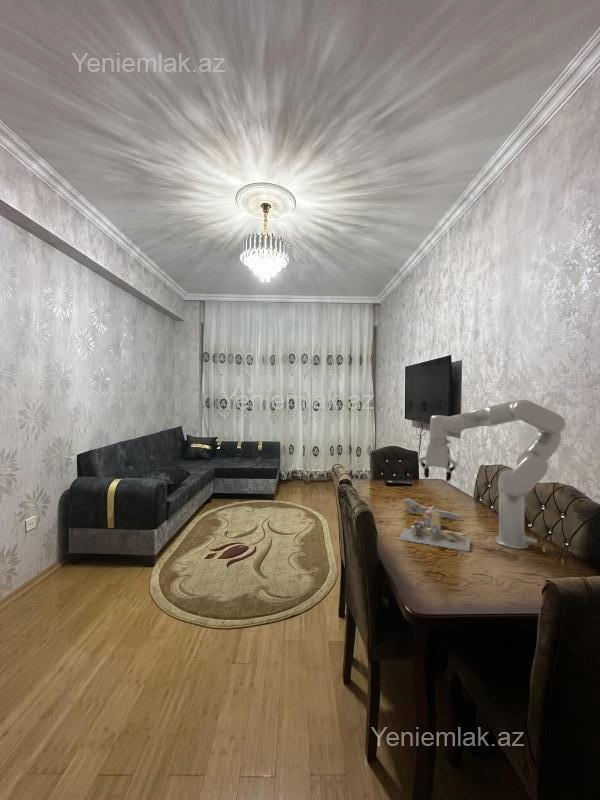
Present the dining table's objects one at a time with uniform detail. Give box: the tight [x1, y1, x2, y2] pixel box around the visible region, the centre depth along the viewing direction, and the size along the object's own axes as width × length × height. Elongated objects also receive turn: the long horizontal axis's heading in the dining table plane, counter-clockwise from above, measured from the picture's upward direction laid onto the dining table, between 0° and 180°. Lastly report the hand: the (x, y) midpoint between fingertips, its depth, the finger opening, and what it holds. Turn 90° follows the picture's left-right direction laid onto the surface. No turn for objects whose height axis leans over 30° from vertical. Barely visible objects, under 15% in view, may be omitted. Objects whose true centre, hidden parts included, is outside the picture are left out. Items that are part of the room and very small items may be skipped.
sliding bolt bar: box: [410, 520, 467, 541], centre depth 161 cm, size 23×6×5 cm, turn 63°
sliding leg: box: [429, 512, 442, 538], centre depth 162 cm, size 4×6×9 cm, turn 154°
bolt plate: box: [399, 527, 471, 552], centre depth 160 cm, size 28×12×2 cm, turn 63°
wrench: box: [401, 498, 462, 521], centre depth 195 cm, size 8×2×30 cm
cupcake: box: [422, 505, 444, 528], centre depth 180 cm, size 9×9×10 cm
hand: (437, 479), depth 168 cm, fingers open, 9 cm apart
